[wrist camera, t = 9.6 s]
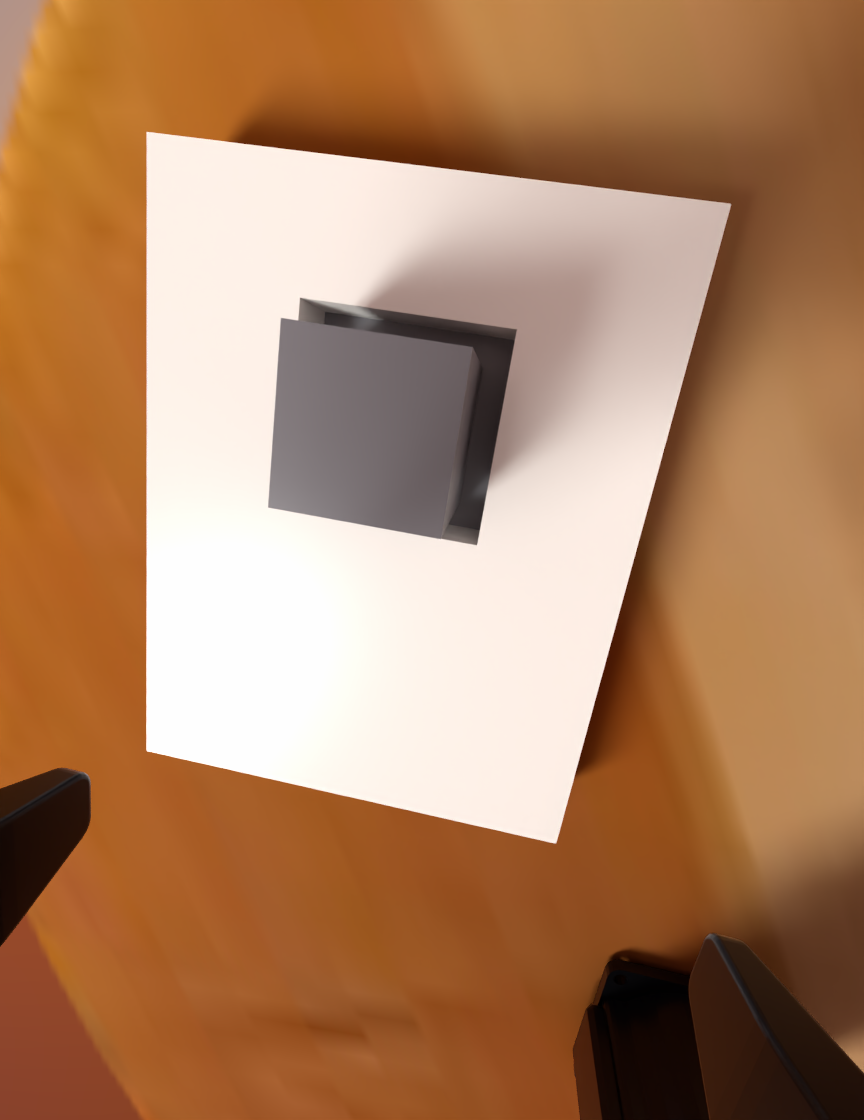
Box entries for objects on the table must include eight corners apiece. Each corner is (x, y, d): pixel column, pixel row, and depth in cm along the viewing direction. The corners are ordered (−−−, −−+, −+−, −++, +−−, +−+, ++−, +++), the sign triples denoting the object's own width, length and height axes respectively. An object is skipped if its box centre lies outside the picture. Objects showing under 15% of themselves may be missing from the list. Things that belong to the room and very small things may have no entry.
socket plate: (693, 238, 14) (731, 204, 12) (549, 790, 19) (555, 843, 17) (202, 175, 15) (146, 131, 13) (188, 711, 21) (146, 750, 18)
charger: (482, 367, 15) (472, 346, 11) (459, 502, 16) (441, 539, 12) (349, 346, 16) (280, 317, 11) (335, 480, 17) (268, 507, 12)
